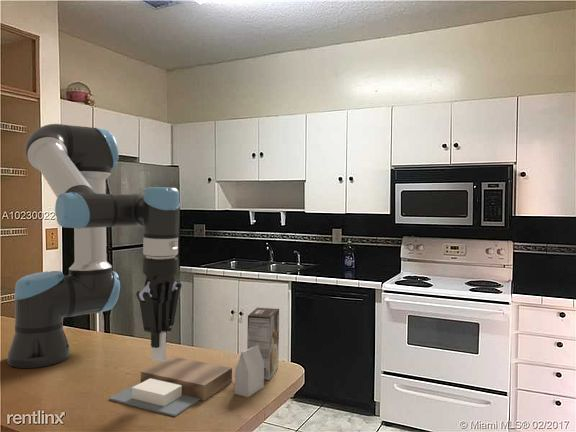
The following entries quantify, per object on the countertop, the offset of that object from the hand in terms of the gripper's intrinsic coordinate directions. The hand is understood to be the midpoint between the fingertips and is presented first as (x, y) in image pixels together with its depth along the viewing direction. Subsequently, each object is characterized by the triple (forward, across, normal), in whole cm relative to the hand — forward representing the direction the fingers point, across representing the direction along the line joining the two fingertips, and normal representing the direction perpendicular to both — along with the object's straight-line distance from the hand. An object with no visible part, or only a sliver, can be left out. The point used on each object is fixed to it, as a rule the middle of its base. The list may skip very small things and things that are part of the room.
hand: (158, 359), depth 106 cm
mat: (+8, -2, -1) cm, 9 cm away
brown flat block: (+8, +9, -2) cm, 12 cm away
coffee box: (+9, +24, -15) cm, 29 cm away
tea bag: (+8, +12, -17) cm, 23 cm away
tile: (+8, -1, -1) cm, 8 cm away
